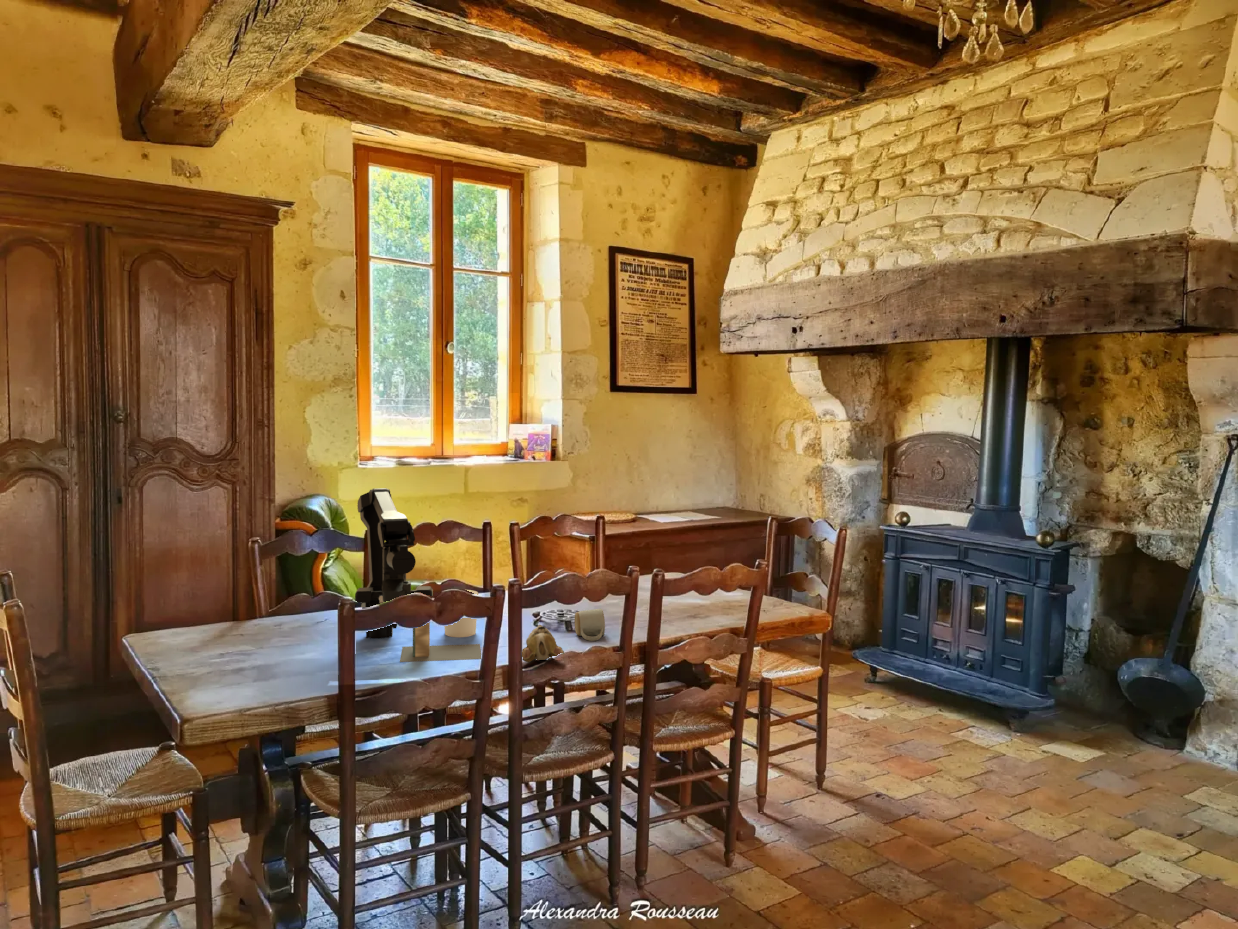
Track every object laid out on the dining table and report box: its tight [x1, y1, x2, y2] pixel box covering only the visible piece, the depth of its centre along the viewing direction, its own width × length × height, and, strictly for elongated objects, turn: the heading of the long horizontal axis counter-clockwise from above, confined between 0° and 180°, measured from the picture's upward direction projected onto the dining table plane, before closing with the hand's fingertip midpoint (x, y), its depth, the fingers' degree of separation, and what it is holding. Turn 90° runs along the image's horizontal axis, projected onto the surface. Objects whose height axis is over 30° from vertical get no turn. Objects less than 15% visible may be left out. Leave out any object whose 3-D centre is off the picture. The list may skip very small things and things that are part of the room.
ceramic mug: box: [574, 608, 606, 642], centre depth 249 cm, size 10×8×7 cm
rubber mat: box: [399, 643, 482, 663], centre depth 229 cm, size 20×14×1 cm
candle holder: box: [443, 589, 479, 638], centre depth 248 cm, size 10×10×12 cm
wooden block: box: [412, 621, 431, 657], centre depth 227 cm, size 4×6×10 cm, turn 11°
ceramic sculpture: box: [521, 624, 565, 663], centre depth 227 cm, size 11×9×15 cm
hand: (394, 628), depth 226 cm, fingers closed
